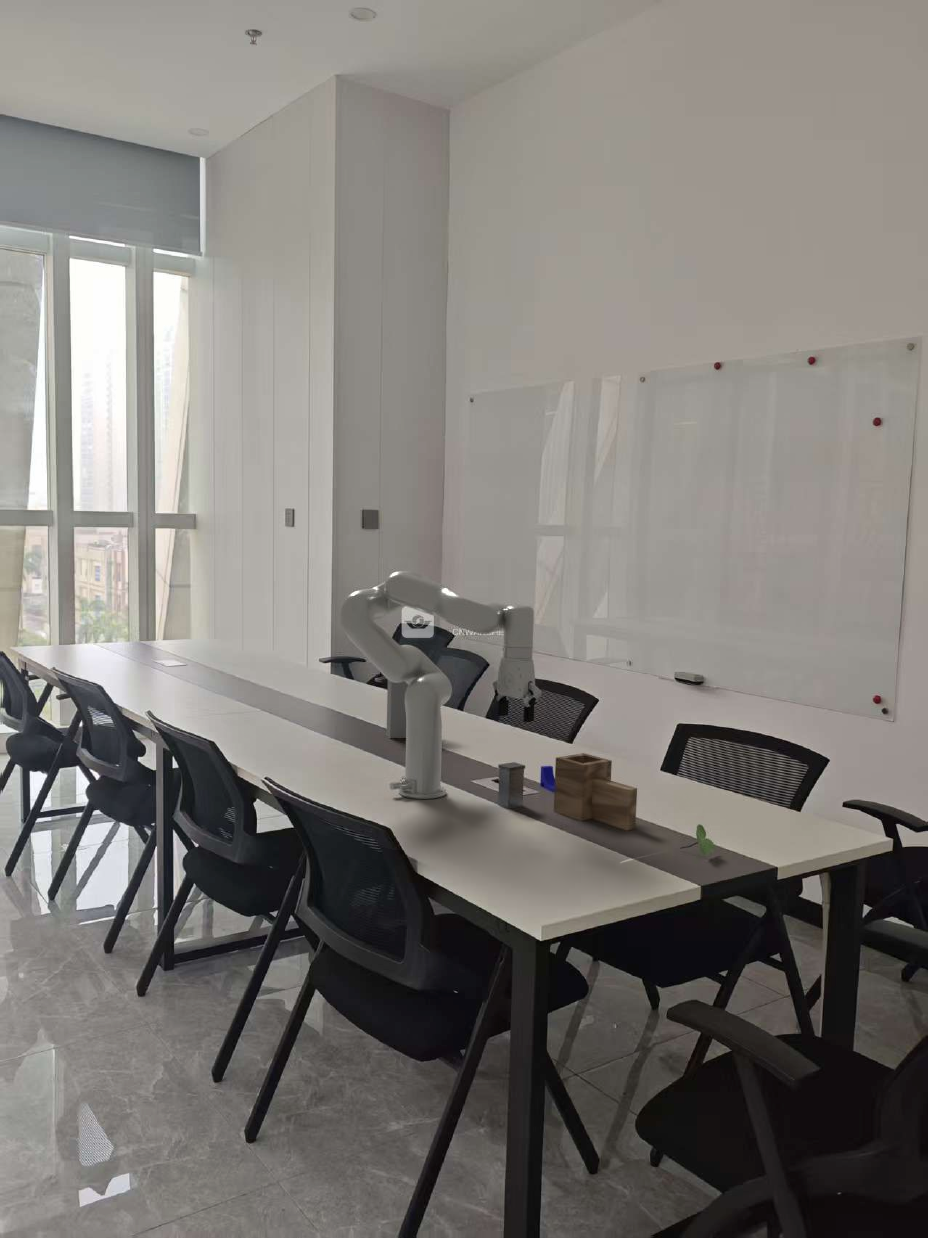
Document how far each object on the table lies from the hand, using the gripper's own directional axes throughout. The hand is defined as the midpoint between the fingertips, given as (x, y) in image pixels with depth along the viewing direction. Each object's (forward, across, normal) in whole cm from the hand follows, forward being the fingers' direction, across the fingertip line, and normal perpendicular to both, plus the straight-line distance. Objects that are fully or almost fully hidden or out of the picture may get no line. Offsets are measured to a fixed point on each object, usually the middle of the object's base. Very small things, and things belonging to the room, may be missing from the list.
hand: (515, 718), depth 267 cm
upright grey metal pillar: (+23, +1, -2) cm, 23 cm away
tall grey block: (+23, -80, +26) cm, 87 cm away
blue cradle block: (+23, -3, +20) cm, 30 cm away
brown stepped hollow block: (+23, +16, +9) cm, 29 cm away
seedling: (+23, +50, +6) cm, 55 cm away
